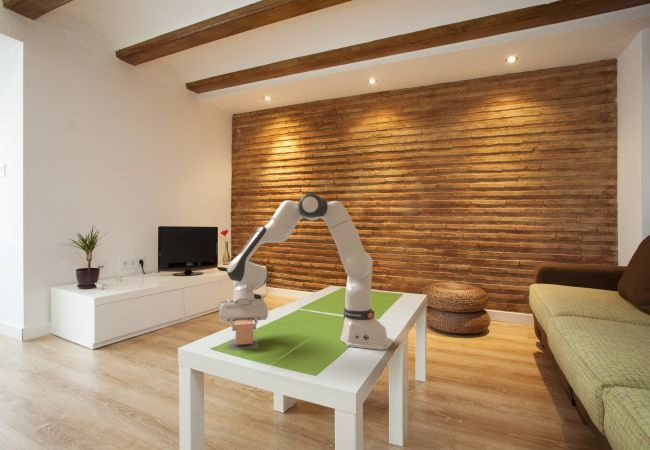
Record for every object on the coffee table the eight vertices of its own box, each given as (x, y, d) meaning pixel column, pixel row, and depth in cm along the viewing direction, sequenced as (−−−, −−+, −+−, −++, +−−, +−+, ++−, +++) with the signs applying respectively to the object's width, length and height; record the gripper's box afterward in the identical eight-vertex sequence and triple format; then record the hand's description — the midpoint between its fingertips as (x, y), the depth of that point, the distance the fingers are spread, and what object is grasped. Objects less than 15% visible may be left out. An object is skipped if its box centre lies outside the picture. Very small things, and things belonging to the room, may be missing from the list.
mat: (256, 339, 151) (256, 338, 151) (258, 349, 141) (258, 347, 141) (229, 341, 148) (229, 340, 148) (230, 351, 138) (230, 349, 138)
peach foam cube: (251, 337, 149) (252, 319, 149) (253, 343, 142) (253, 323, 142) (235, 338, 147) (235, 319, 147) (235, 344, 140) (236, 324, 140)
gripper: (218, 297, 149) (218, 327, 140) (267, 295, 155) (269, 324, 146) (218, 305, 154) (217, 334, 144) (265, 303, 159) (267, 331, 150)
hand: (244, 329), depth 145 cm, fingers closed on peach foam cube, 7 cm apart
